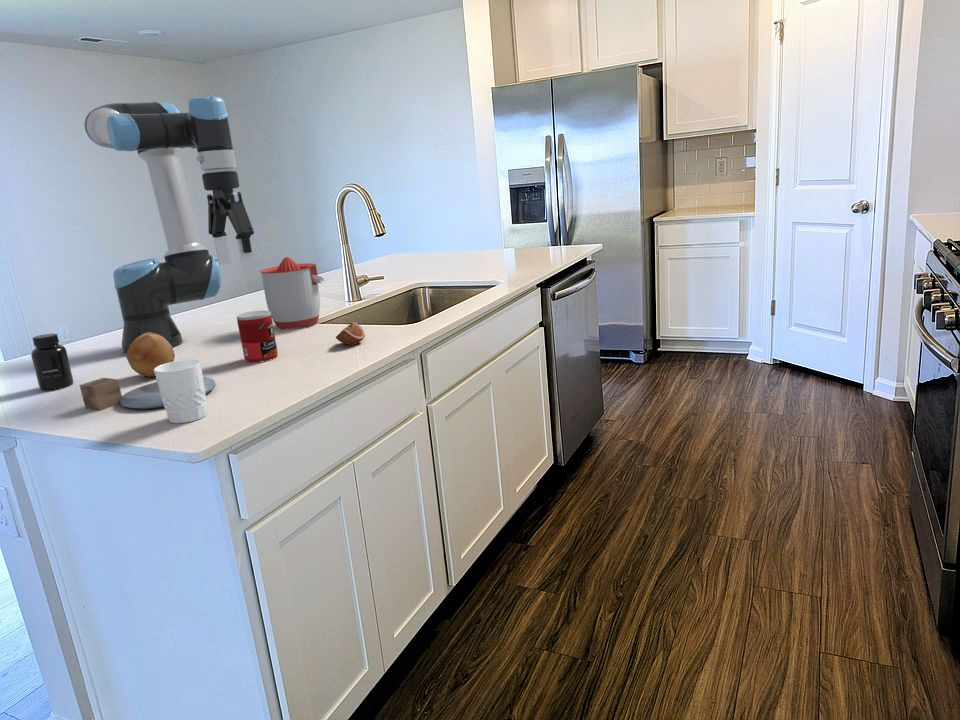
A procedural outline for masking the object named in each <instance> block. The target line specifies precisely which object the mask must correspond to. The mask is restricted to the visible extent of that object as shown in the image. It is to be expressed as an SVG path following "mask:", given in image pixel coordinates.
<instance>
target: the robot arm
mask: <svg viewBox="0 0 960 720" xmlns="http://www.w3.org/2000/svg"><path fill="white" fill-rule="evenodd" d="M84 131H85V132H86V135H87V136H88V138H89V139H90V140H91V141H92V142H93V143H95V144H96V145H98V146H100V147H103V148H107V149H113V150H115V151H118V152H119V151H120V152H134V151H136V152H137V155H138V157H139V158H140V159H141V160H142V161H144V162H145V163H146V166H147V169H148V173H149V174H148V175H149V178H150V182H151V185H152V190H153V193H154V194H153V195H154V198H155V202H156V206H157V209H158V214H159V217H160V221H161V226H162V229H163V234H164V238H165V241H166V242H165V243H166V245H167V251H166V252H165V254H164V255H163V258H164V262H160V260H159V259H158V258H156V257H155V258H148V259H142V260H138V261H134V262H130V263H127V264H123V265H121V266H119V267H117V268H115V270H114V271H113V282H114V289H115V290H116V295H117V299H118V303H119V307H120V313H121V317H122V320H123V327H122V328H123V329H122V337H121V348H122V352H123V353H125V354H127V352H128V349H129V347H130V345H131V344H132V342H133V341H134V340H135V339H136V338H137V337H139V336H141V335H142V334H145V333H148V332H151V333H155V334H158V335H160V336H162V337H164V338H165V339H166V340H167V341H168V342H169V343H170V345H171V346H174V347H176V346H178V344H179V345H180V343H181V342H182V341H183V337H182V333H181V332H180V330H179V328H178V327H177V324H176V323H175V322H174V320H173V318H172V316H171V313H170V308H169V306H171V305H177V304H181V303H182V304H183V303H188V302H195V301H200V300H201V301H203V300H205V299H209V298H213V297H216V296H217V295H219V292H220V289H221V284H222V276H221V274H222V273H221V266H225V265H226V266H227V265H231V264H232V261H231V255H230V249H229V244H228V238H227V232H226V224H227V217H228V219H229V221H230V223H231V225H232V227H233V229H234V231H235V233H236V236H235V239H236V242H237V247H238V253H239V259H240V263H241V269H250V268H254V267H256V265H255V259H254V253H253V247H252V240H251V237H252V236H253V235H254V234H255V231H254V228H253V226H252V223H251V219H250V218H249V214H248V212H247V209H246V206H245V204H244V201H243V197H242V192H240V191H237V192H234V189H238V188H239V187H240V179H239V175H238V172H237V171H236V170H235V169H236V168H237V163H236V155H235V151H234V147H233V141H232V137H231V136H232V135H231V130H230V123H229V113H228V112H227V109H226V104H225V101H224V99H223V98H221V97H220V96H197V97H193V98H191V99H189V101H188V112H180V111H179V108H177V107H176V106H175V105H174V104H172V103H171V102H158V101H154V102H129V103H128V102H127V103H126V102H124V103H123V102H121V103H120V102H116V103H115V102H114V103H109V104H103V105H101V106H97V107H95V108H93V109H92V110H91V111H89V112H88V113H87V115H86V117H85V119H84ZM184 148H187V149H188V148H191V149H196V151H197V157H196V160H197V161H198V162H199V167H200V171H203V173H202V175H201V178H202V182H203V183H202V184H203V189H204V190H205V191H212V193H209V194H207V195H206V199H207V205H208V206H207V209H208V210H207V211H208V212H207V213H208V214H207V216H208V218H207V219H208V220H207V221H208V223H207V224H208V229H207V230H208V234H209V236H210V235H211V236H212V238H213V242H214V246H215V251H216V256H215V255H213V254H210V253H209V248H207V246H204V245H203V244H202V243H201V239H200V235H199V232H198V228H197V224H196V220H195V216H194V211H193V207H192V202H191V199H190V194H189V191H188V186H187V182H186V179H185V173H184V170H183V166H182V161H181V157H182V156H183V154H184V152H185V149H184ZM182 343H183V342H182ZM182 343H181V344H182Z"/></svg>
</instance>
